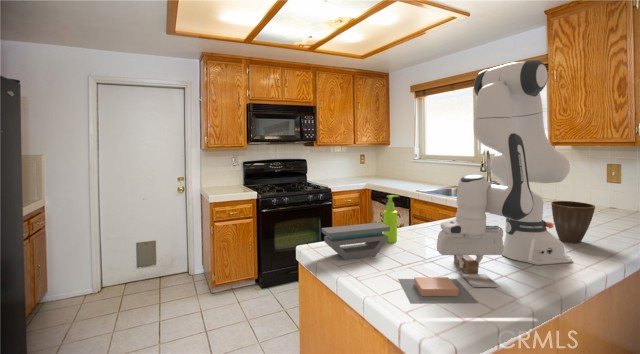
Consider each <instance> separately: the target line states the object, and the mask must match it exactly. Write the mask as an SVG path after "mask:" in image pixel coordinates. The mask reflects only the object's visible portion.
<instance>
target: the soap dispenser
mask: <svg viewBox="0 0 640 354" xmlns="http://www.w3.org/2000/svg"><path fill="white" fill-rule="evenodd" d="M386 198H388V201H387V202H386V205H385V207H386V209H385V210H383V216H382V217H383V220H382V221H383V222H382V223H383V224H385V225H387V226H389V227H390V231H384V232H383V234H385V235H387V236H388V237H387V242H386V243H391V244H392V243H397V241H398V210H395V203H394V202H393V198H400V196H399V195H397V194H396V195H395V194H390V195H386Z"/></svg>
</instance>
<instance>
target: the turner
mask: <svg viewBox="0 0 640 354" xmlns="http://www.w3.org/2000/svg"><path fill="white" fill-rule="evenodd" d="M461 259H462V261H464V262H465V263H466V268H460V261H459V260H458V258H457V257H456V255H453V263H454V264H455V265H456V266H458V267H459V268H460V270H462V271H463V272H464V273H462V274H461V275H462V276H461V277H462V278H463V279H465V281H466V282H467V283H469V285H471V286H472V287H473V288H498V287H499V284H498V283H497V282H496V281H494V280H493V279H492V278H491V277H489V276H488V275H487V274H486V273H479V268H478V262H476V261H475V259H474V258H473V257H471V255H463V258H461Z"/></svg>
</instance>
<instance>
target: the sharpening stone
mask: <svg viewBox="0 0 640 354" xmlns="http://www.w3.org/2000/svg"><path fill="white" fill-rule="evenodd" d="M384 231H390V227H389V226H387V225H385V224H383V222H379V221H378V222H370V223H360V224H359V223H358V224H351V225H350V224H349V225H341V226H329V227H321V233H322V234H323V235H324V243H325V244H327V246H328V247H330V248H331V249H332V250H333V251H334V252H335V253H336V254H338V255H339V256H340V257H342V258H343V260H345V261H352V260H360V259H366V258H367V259H368V258H373V257H376V255H377V254H378V253H379V252H380V250H381V249H383V247H384V246H385V245H386V244H387V243H388V242H387V237H388V236H387V235H385V234H383V232H384Z"/></svg>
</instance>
